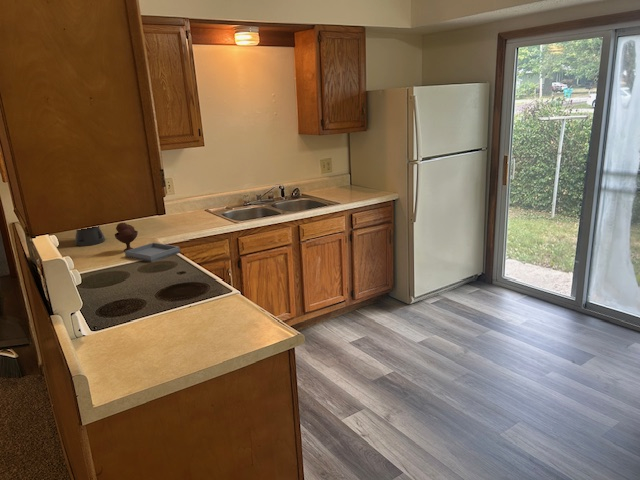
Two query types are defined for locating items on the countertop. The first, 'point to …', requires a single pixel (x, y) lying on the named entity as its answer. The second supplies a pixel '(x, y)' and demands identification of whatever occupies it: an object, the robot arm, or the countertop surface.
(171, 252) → the serving tray
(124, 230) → the ice cream bowl
